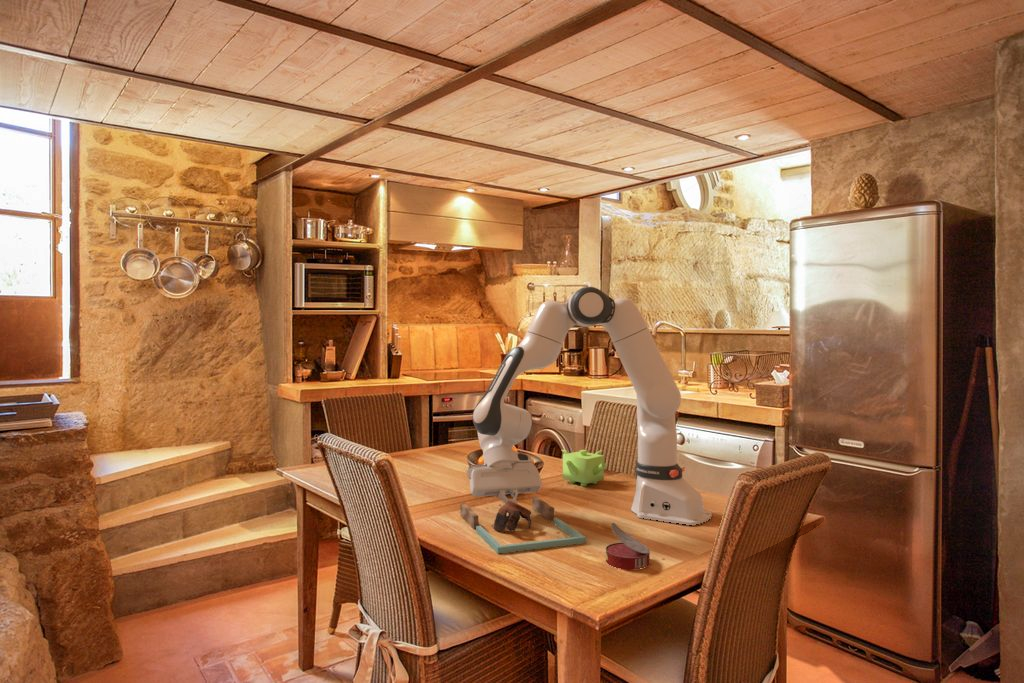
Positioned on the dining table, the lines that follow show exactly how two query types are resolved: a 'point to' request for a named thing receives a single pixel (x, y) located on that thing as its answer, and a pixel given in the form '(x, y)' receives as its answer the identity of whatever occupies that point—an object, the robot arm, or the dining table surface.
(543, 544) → the teal frame
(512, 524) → the dark brown curved piece
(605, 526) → the dining table surface
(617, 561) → the canned food
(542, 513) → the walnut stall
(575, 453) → the green knobbed block
